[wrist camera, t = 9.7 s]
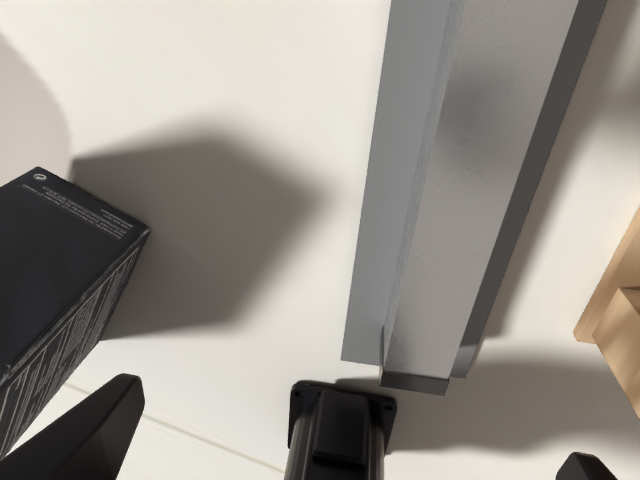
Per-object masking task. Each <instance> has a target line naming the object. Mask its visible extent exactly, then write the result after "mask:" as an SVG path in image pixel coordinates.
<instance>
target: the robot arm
mask: <svg viewBox="0 0 640 480" xmlns="http://www.w3.org/2000/svg"><path fill="white" fill-rule="evenodd" d="M144 405H145V398H144V392H143V387H142V381H141V378H140V377H139V376H136V375H131V374H125V373H123V374H119V375H117V376H116V377H114V378H113V379H111V380H110V381H109V382H107V383H106V384H105V385H103V386H102V387H100V388H99V389H98V390H96V391H95V392H94V393H92V394H91V395H90V396H88V397H87V398H85V399H84V400H83V401H81V402H80V403H79V404H77V405H76V406H74V407H73V408H72V409H70V410H69V411H68V412H66V413H65V414H63V415H62V416H61V417H59V418H58V419H57V420H55V421H54V422H52V423H51V424H50V425H48V426H47V427H46V428H44V429H43V430H42V431H40V432H39V433H37V434H36V435H35V436H33V437H32V438H31V439H29V440H28V441H26V442H25V443H24V444H22V445H21V446H20V447H18V448H17V449H15V450H14V451H13V452H11V453H10V454H9V455H7V456H6V457H5V458H3V459H2V460H0V480H116V478H117V476H118V473H119V471H120V468H121V466H122V463H123V461H124V458H125V456H126V453H127V451H128V448H129V446H130V443H131V441H132V438H133V436H134V433H135V430H136V428H137V425H138V423H139V420H140V418H141V415H142V413H143V410H144ZM396 412H397V401H396V400H395V399H394V398H391V397H386V396H379V395H373V394H366V393H360V392H353V391H346V390H340V389H333V388H326V387H320V386H313V385H306V384H298V383H297V384H294V385H293V386H292V389H291V394H290V412H289V430H288V448H289V449H290V451H289V456H288V461H287V466H286V471H285V476H284V480H384V457H385V453H386V449H387V445H388V442H389V438H390V434H391V430H392V427H393V423H394V419H395V415H396ZM556 480H618V479H617V478H616V477H615V476H614V475H613V474H612V473H611V472H610V470H609V469H608V468H607V467H606V466H605V465H604V464H603V463H602V462H601V461H600V460H599V459H598V458H597V457H596V456H594V455H591V454H585V453H580V452H573V453H571V454H570V455H569V457H568V458H567V460H566V461H565V462H564V464H563V465H562V467H561V468H560V469H559V471H558V472H557V475H556Z"/></svg>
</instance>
